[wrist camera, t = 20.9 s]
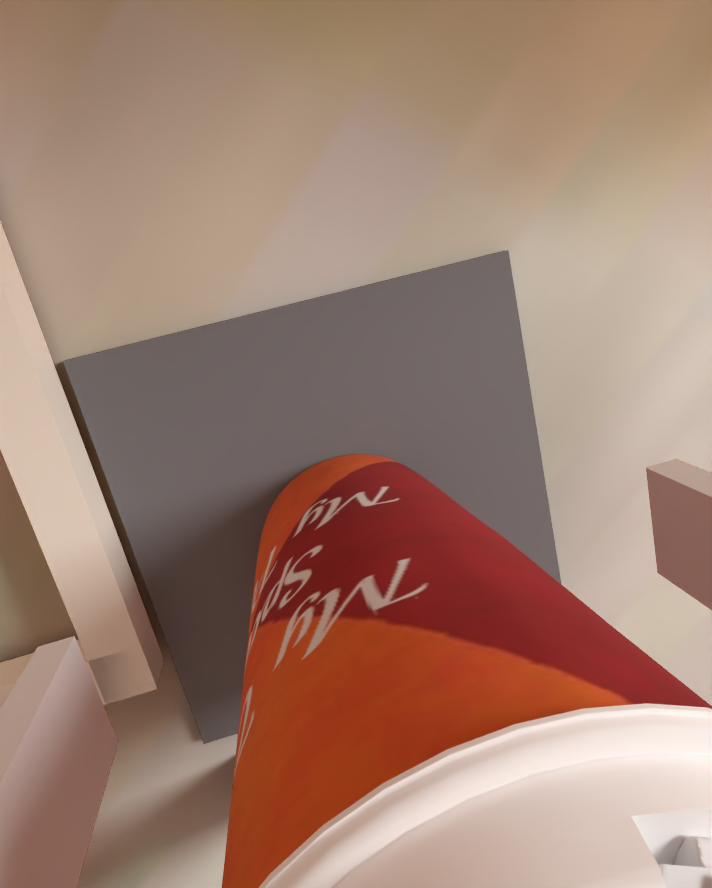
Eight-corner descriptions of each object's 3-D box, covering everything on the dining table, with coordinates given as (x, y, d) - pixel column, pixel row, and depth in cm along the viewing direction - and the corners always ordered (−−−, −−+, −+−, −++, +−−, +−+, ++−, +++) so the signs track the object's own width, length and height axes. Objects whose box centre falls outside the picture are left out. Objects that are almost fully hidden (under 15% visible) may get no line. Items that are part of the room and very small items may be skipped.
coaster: (66, 359, 17) (63, 361, 17) (504, 251, 19) (508, 250, 18) (204, 737, 21) (203, 744, 20) (564, 623, 22) (568, 628, 22)
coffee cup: (257, 386, 18) (295, 775, 4) (511, 449, 20) (1212, 875, 5) (195, 643, 20) (48, 1622, 5) (436, 678, 21) (821, 1479, 7)
